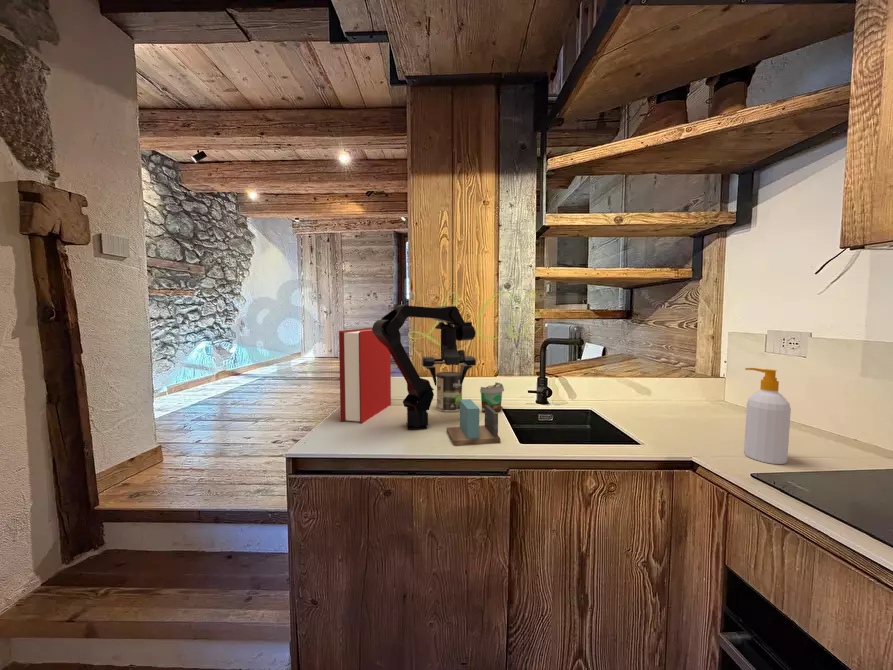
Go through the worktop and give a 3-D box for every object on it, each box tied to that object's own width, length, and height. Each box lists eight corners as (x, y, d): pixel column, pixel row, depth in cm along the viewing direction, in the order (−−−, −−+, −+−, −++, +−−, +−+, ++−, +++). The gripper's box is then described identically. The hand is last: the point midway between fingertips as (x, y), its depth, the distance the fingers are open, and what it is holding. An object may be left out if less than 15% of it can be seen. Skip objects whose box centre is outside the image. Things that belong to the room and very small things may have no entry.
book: (361, 423, 123) (360, 331, 121) (340, 422, 125) (338, 330, 122) (392, 403, 149) (391, 327, 147) (374, 402, 151) (373, 327, 149)
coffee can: (467, 407, 144) (467, 373, 143) (453, 413, 135) (453, 377, 134) (445, 403, 149) (445, 370, 148) (431, 409, 141) (431, 374, 140)
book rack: (453, 445, 103) (453, 417, 102) (446, 432, 115) (446, 406, 114) (500, 442, 105) (500, 414, 105) (488, 429, 117) (488, 404, 116)
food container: (493, 415, 132) (494, 389, 132) (479, 412, 136) (480, 387, 135) (509, 408, 142) (509, 383, 142) (495, 406, 146) (496, 382, 145)
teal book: (467, 439, 104) (467, 409, 103) (459, 427, 115) (459, 399, 114) (479, 438, 105) (479, 408, 104) (470, 426, 115) (470, 399, 115)
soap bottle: (741, 448, 102) (746, 365, 100) (787, 457, 95) (793, 369, 93) (738, 457, 95) (743, 369, 94) (787, 467, 89) (793, 373, 87)
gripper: (425, 344, 116) (425, 391, 117) (480, 343, 120) (479, 389, 121) (421, 341, 127) (421, 384, 128) (472, 340, 131) (471, 382, 132)
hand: (448, 385), depth 127 cm, fingers open, 9 cm apart
